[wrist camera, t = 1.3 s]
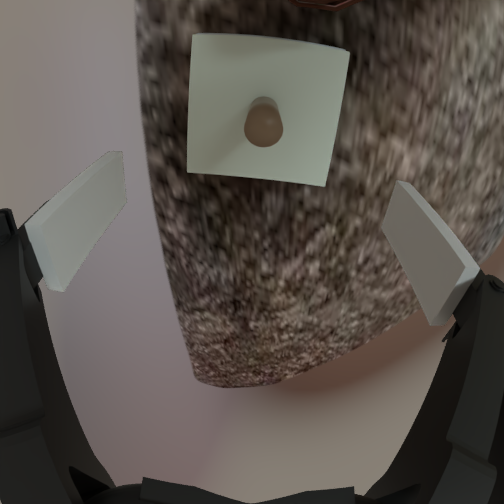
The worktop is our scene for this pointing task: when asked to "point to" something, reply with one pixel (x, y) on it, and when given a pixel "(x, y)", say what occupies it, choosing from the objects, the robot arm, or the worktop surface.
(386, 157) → the worktop surface
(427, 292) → the robot arm
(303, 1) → the ice cream bowl
